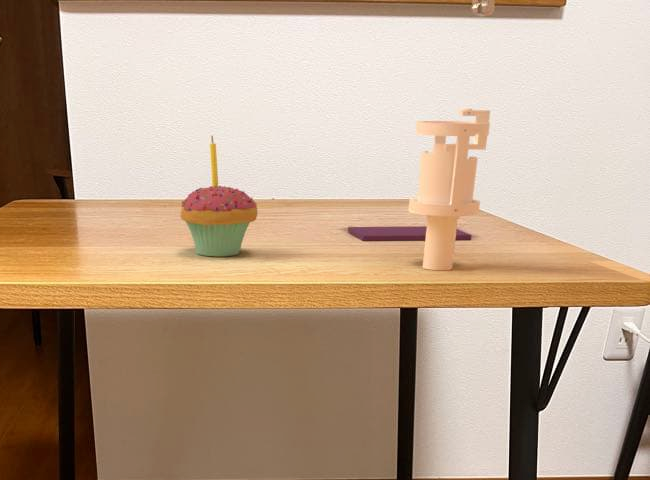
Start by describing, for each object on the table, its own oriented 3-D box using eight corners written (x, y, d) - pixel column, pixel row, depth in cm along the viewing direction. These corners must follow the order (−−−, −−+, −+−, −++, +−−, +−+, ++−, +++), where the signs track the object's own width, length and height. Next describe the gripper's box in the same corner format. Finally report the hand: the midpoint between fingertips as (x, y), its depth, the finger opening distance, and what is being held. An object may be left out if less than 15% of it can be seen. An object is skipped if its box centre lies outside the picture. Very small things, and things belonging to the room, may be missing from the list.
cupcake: (170, 249, 101) (167, 134, 95) (237, 245, 104) (238, 134, 98) (198, 261, 94) (197, 138, 88) (270, 257, 97) (272, 138, 91)
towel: (449, 230, 117) (450, 226, 117) (471, 239, 110) (471, 234, 110) (347, 231, 116) (348, 226, 115) (363, 240, 109) (363, 235, 108)
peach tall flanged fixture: (482, 273, 90) (503, 110, 83) (415, 274, 89) (431, 109, 82) (457, 261, 96) (475, 108, 89) (395, 262, 95) (408, 108, 88)
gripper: (444, -217, 71) (443, -23, 76) (539, -143, 86) (533, 16, 91) (376, -189, 75) (379, -5, 79) (478, -123, 90) (476, 29, 94)
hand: (462, 6), depth 85 cm, fingers open, 8 cm apart
